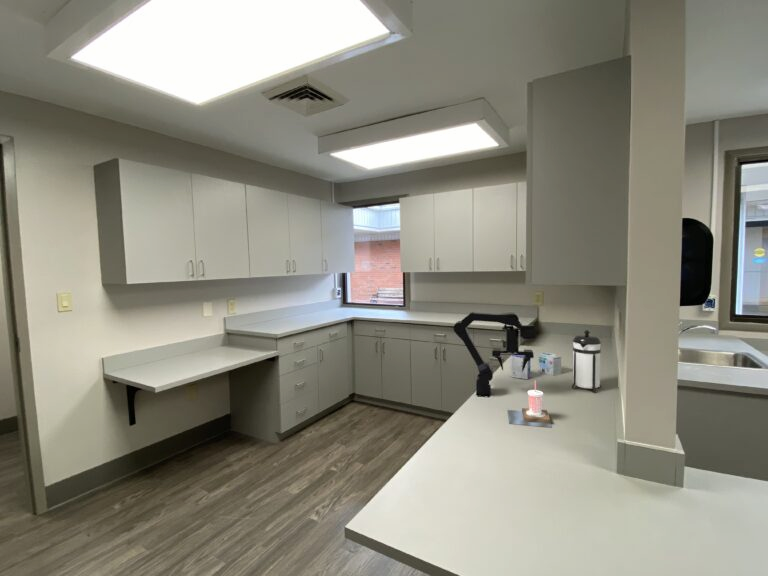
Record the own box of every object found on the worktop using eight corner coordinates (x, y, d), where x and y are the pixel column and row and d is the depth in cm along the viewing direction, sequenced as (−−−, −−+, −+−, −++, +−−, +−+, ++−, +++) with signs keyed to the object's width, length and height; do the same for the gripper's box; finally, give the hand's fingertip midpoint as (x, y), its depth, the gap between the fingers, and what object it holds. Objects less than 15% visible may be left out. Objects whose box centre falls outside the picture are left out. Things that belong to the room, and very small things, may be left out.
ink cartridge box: (531, 377, 210) (531, 352, 209) (528, 380, 206) (528, 354, 205) (513, 374, 216) (513, 349, 215) (510, 377, 212) (510, 351, 211)
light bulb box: (538, 371, 221) (538, 353, 220) (546, 369, 224) (546, 351, 223) (553, 376, 212) (553, 357, 211) (561, 374, 214) (561, 355, 214)
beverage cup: (529, 415, 154) (529, 382, 153) (525, 409, 160) (525, 378, 159) (545, 416, 153) (545, 383, 152) (540, 410, 159) (540, 378, 158)
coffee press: (611, 392, 183) (612, 332, 181) (578, 393, 183) (579, 333, 181) (592, 381, 200) (593, 326, 198) (562, 382, 201) (563, 327, 198)
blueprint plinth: (509, 423, 152) (509, 418, 152) (507, 410, 166) (507, 405, 165) (551, 427, 148) (551, 422, 148) (546, 413, 161) (546, 408, 161)
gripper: (531, 335, 185) (531, 366, 186) (492, 335, 190) (492, 365, 191) (533, 340, 174) (533, 373, 175) (492, 339, 180) (492, 371, 181)
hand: (512, 370), depth 181 cm, fingers open, 9 cm apart
